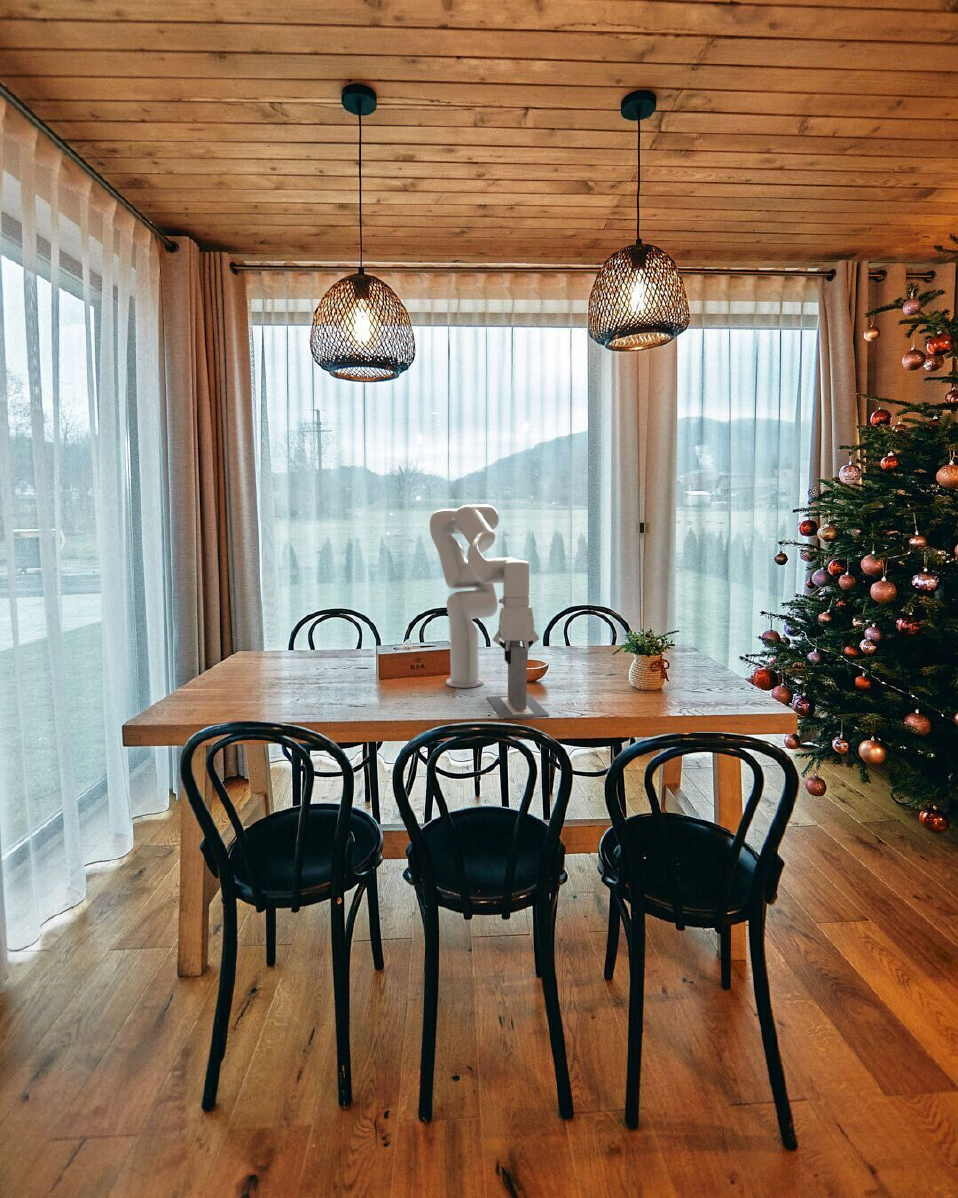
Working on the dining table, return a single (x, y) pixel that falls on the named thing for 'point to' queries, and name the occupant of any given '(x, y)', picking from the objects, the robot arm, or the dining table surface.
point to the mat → (509, 712)
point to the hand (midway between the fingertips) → (516, 662)
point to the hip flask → (517, 676)
